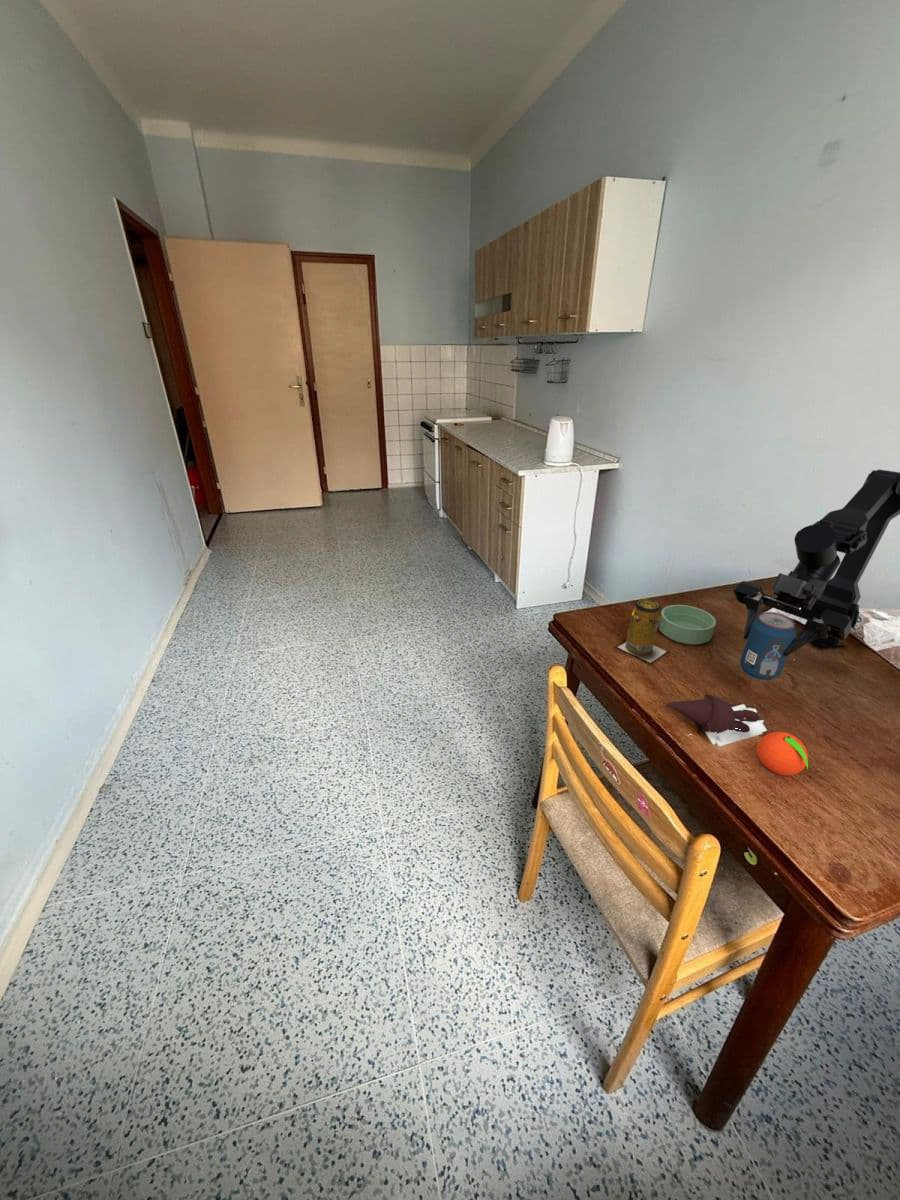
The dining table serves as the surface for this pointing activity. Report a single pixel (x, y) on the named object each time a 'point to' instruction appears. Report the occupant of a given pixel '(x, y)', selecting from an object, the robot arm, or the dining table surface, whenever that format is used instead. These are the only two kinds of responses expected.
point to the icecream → (715, 714)
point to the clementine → (782, 753)
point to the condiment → (643, 631)
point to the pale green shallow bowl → (686, 624)
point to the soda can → (767, 646)
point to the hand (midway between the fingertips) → (764, 646)
